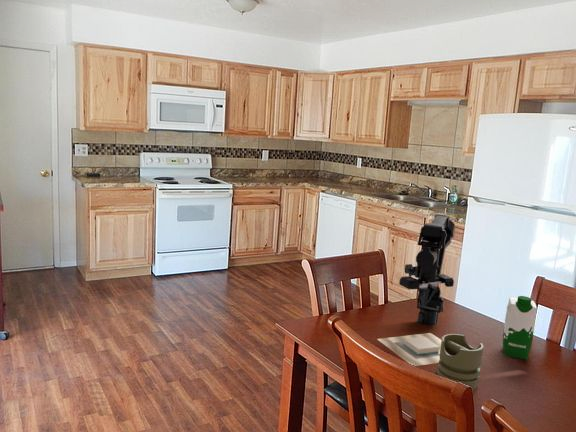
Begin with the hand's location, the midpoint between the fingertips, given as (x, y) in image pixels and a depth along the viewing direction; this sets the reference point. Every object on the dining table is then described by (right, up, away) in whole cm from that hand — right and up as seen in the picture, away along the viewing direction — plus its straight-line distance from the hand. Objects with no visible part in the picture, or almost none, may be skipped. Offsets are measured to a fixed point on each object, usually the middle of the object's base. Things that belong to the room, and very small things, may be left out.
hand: (423, 305), depth 172 cm
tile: (0, -11, -7) cm, 14 cm away
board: (-3, -14, -8) cm, 16 cm away
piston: (+2, -17, -26) cm, 32 cm away
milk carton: (+29, -15, -4) cm, 33 cm away
